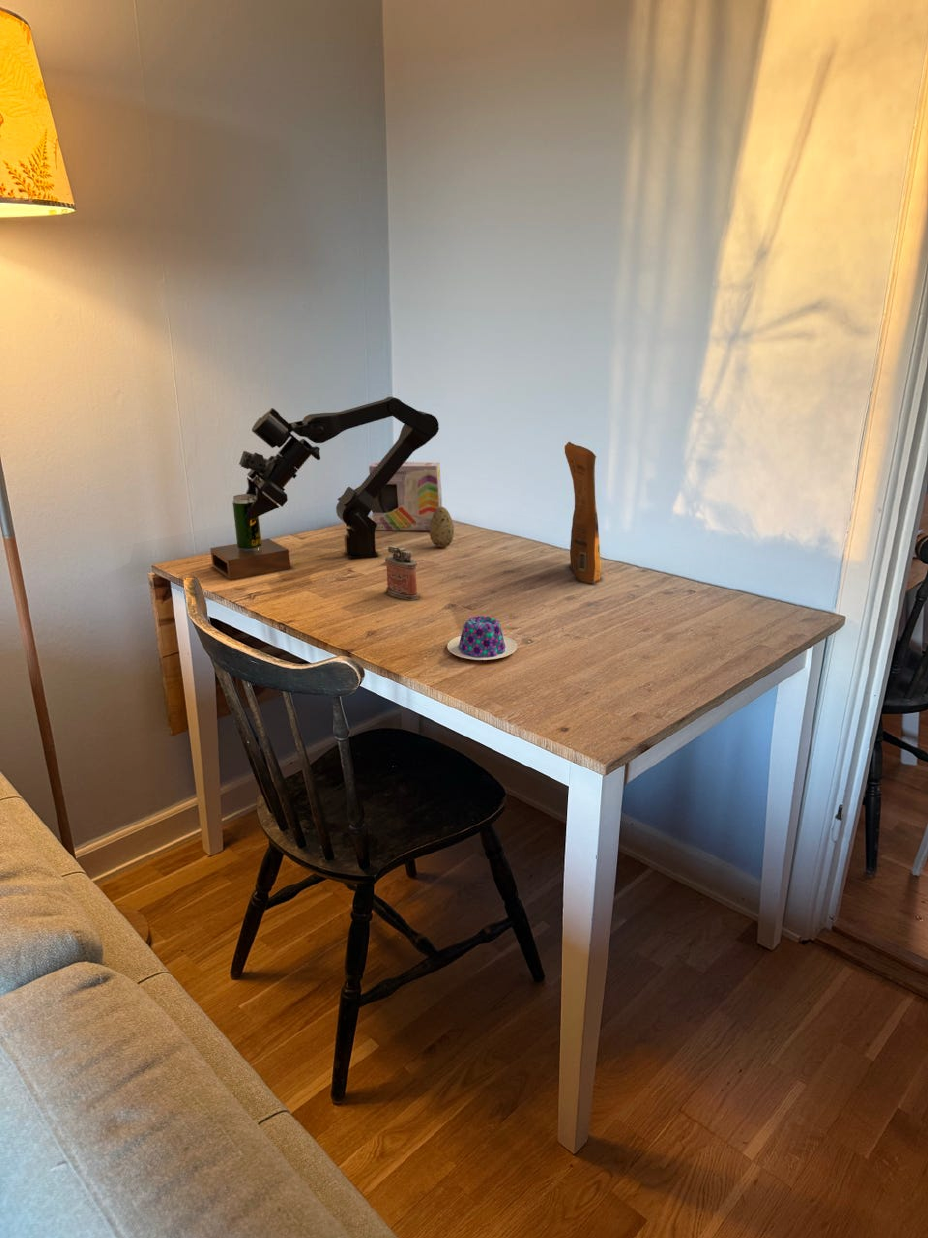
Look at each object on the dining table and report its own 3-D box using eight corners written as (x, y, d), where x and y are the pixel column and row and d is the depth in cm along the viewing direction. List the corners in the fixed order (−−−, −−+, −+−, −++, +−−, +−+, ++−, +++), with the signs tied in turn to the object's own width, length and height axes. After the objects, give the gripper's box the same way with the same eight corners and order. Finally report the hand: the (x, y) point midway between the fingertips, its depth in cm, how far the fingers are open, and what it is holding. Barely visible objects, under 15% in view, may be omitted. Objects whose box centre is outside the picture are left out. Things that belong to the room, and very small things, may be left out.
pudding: (464, 668, 134) (463, 639, 132) (436, 643, 144) (436, 615, 143) (529, 656, 139) (530, 627, 137) (498, 632, 149) (498, 605, 147)
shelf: (270, 556, 196) (268, 538, 195) (290, 568, 187) (288, 549, 185) (212, 567, 189) (210, 548, 187) (230, 580, 180) (228, 560, 178)
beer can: (233, 551, 185) (227, 498, 180) (244, 544, 190) (239, 493, 185) (255, 552, 183) (249, 499, 179) (266, 546, 188) (261, 494, 184)
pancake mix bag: (574, 587, 173) (579, 452, 163) (559, 561, 191) (563, 438, 181) (606, 586, 173) (613, 451, 163) (588, 560, 191) (594, 437, 181)
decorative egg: (425, 547, 202) (424, 507, 199) (439, 542, 207) (438, 503, 203) (444, 551, 199) (444, 510, 195) (459, 545, 204) (458, 506, 200)
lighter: (421, 597, 168) (420, 549, 164) (409, 601, 165) (408, 553, 162) (395, 588, 173) (393, 542, 169) (382, 592, 171) (380, 545, 167)
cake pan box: (369, 530, 219) (365, 463, 213) (374, 525, 223) (370, 460, 217) (440, 532, 216) (438, 465, 210) (443, 528, 220) (442, 461, 214)
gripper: (252, 432, 188) (208, 484, 188) (266, 443, 171) (218, 501, 171) (290, 464, 193) (247, 515, 193) (307, 477, 177) (260, 533, 177)
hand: (242, 515), depth 183 cm, fingers open, 9 cm apart
